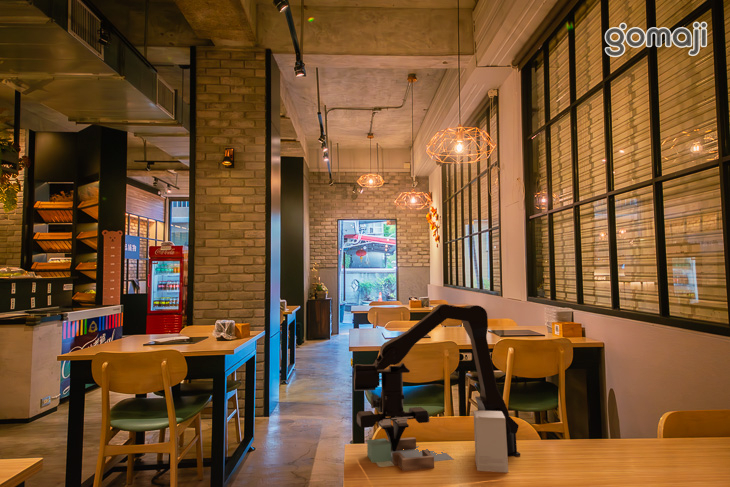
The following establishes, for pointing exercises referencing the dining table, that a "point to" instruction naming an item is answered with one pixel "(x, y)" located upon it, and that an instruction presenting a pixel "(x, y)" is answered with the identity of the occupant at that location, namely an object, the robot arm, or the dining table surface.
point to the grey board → (414, 453)
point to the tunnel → (413, 462)
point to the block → (379, 450)
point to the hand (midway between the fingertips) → (393, 451)
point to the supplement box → (490, 441)
